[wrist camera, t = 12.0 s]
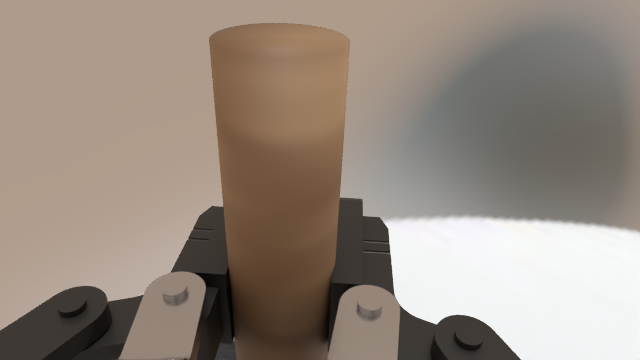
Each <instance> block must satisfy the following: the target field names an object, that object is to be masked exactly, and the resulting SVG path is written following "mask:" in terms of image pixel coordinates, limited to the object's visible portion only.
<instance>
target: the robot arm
mask: <svg viewBox="0 0 640 360" xmlns="http://www.w3.org/2000/svg"><path fill="white" fill-rule="evenodd" d="M362 205H363V204H362V199H353V198H340V200H339V215H338V230H337V245H336V260H335V267H334V269H333V272H332V284H331V301H330V319H329V336H328V352H329V353H328V358H327V360H521V359H520V358H519V357H518V356H517V355H516V354H515V353H514V352H513V351H512V350H511V349H510V348H509V346H508V345H507V344H506V343H505V342H504V341H503V340H502V339H501V338H500V337H499V336H498V335H497V334H496V332H495V331H494V330H493V329H492V328H491V327H489V326H488V325H487V324H485V323H484V322H482V321H480V320H478V319H476V318H473V317H470V316H465V315H452V316H448V317H446V318H444V319H442V320H441V321H440V322H439V323H438V324H437V325H436V324H433V323H430V322H427V321H425V320H422V319H419V318H417V317H415V316H413V315H411V314H409V313H408V312H407V311H405V310H404V309H403V308H402V307H401V306H400V305H399V303H398V301H397V299H396V298H395V295H394V287H393V276H392V266H391V255H390V244H389V233H388V228H387V227H386V225H385V224H384V223H383V221H382V220H381V218H380V217H366V216H363V210H362V209H363V207H362ZM234 336H235V334H234V322H233V311H232V299H231V287H230V276H229V265H228V254H227V242H226V230H225V218H224V207H216V206H212V207H210V208H209V209H208V210H206V211H205V212H204V213H203V214H202V215H200V216H199V218H198V220H197V222H196V224H195V226H194V228H193V230H192V232H191V234H190V236H189V239H188V240H187V241H186V243H185V245H184V248H183V249H182V251H181V253H180V255H179V257H178V259H177V261H176V263H175V265H174V267H173V269H172V271H171V273H169V274H166V275H163V276H161V277H159V278H157V279H156V280H154V281H153V282H152V283H151V284H150V285H149V286H148V287H147V289H146V291H145V293H144V295H141V296H138V297H133V298H127V299H121V300H115V301H109V302H108V300H107V297H106V294H105V293H104V292H103V291H102V290H100V289H98V288H96V287H91V286H81V287H74V288H70V289H68V290H65V291H62V292H60V293H58V294H57V295H55V296H53V297H52V298H50V299H49V300H47V301H45V302H44V303H42V304H41V305H39V306H38V307H36V308H35V309H33V310H32V311H30V312H29V313H27V314H25V315H24V316H23V317H21V318H19V319H18V320H17V321H15V322H13V323H12V324H10V325H8V326H7V327H5V328H4V329H2V330H1V331H0V360H215V357H216V354H217V351H218V348H219V345H220V343H224V344H232V343H233V339H234Z"/></svg>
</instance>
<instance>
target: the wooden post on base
mask: <svg viewBox="0 0 640 360" xmlns="http://www.w3.org/2000/svg"><path fill="white" fill-rule="evenodd" d="M209 42H210V55H211V66H212V78H213V90H214V102H215V113H216V125H217V136H218V148H219V159H220V171H221V183H222V194H223V207H224V218H225V230H226V242H227V254H228V265H229V276H230V287H231V299H232V311H233V322H234V334H235V347H236V359H237V360H327V358H328V353H329V352H328V336H329V319H330V301H331V284H332V272H333V269H334V267H335V260H336V245H337V230H338V215H339V200H340V185H341V170H342V154H343V140H344V124H345V109H346V95H347V80H348V65H349V50H350V40H349V38H347V37H346V36H345V35H343V34H341V33H339V32H337V31H334V30H331V29H326V28H322V27H317V26H309V25H301V24H288V23H262V24H248V25H241V26H235V27H230V28H226V29H223V30H220V31H218V32H216V33H214V34H212V35H211V36H210V38H209Z"/></svg>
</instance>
